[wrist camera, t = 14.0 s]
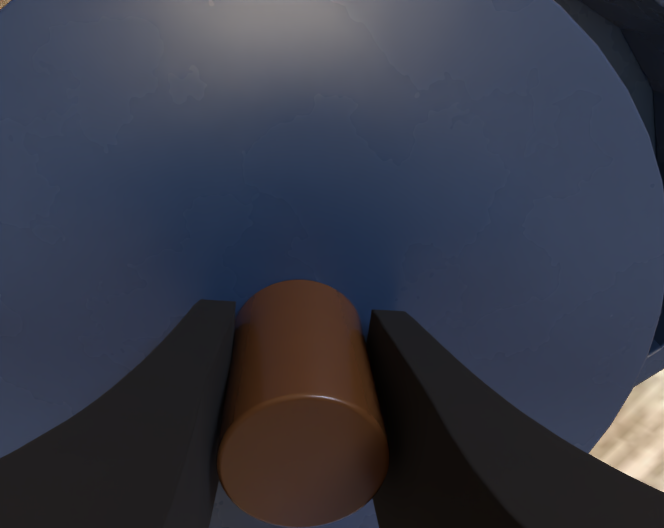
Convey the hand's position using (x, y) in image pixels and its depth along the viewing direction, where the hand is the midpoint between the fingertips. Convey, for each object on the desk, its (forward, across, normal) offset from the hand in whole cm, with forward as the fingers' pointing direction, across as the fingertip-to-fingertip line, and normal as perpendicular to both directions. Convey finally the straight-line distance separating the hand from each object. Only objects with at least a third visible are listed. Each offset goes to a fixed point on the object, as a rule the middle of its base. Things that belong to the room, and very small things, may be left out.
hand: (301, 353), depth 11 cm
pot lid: (+1, 0, 0) cm, 1 cm away
